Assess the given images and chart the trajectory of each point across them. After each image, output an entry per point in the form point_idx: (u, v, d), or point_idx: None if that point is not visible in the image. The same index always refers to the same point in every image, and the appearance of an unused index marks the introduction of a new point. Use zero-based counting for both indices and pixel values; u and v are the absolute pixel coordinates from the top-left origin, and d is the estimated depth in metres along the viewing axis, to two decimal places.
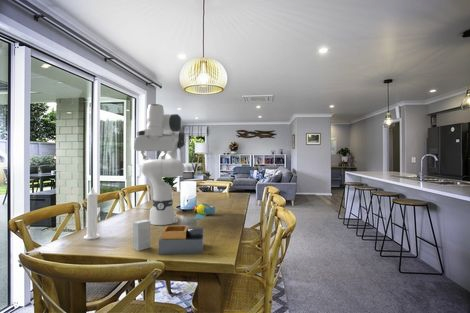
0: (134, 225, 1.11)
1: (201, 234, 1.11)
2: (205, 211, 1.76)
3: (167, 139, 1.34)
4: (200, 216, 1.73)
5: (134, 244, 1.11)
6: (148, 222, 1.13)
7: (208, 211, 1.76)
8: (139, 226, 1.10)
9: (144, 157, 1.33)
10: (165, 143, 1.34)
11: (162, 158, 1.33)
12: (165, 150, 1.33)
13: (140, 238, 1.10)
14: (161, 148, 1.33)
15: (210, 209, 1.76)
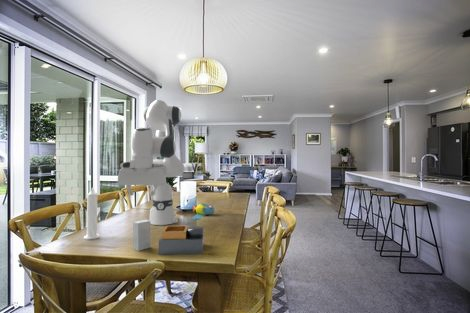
0: (134, 225, 1.11)
1: (201, 234, 1.11)
2: (204, 211, 1.76)
3: (158, 171, 1.12)
4: (199, 216, 1.73)
5: (134, 244, 1.11)
6: (148, 222, 1.13)
7: (207, 211, 1.76)
8: (139, 226, 1.10)
9: (130, 193, 1.11)
10: (155, 176, 1.12)
11: (152, 194, 1.12)
12: (155, 185, 1.12)
13: (140, 238, 1.10)
14: (150, 182, 1.11)
15: (209, 209, 1.76)
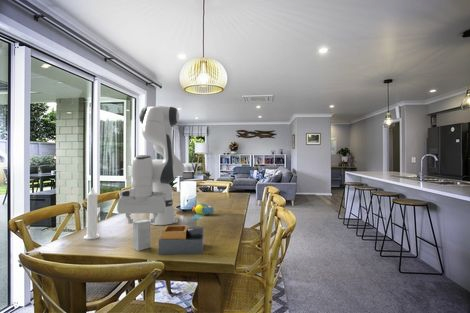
0: (134, 225, 1.11)
1: (201, 234, 1.11)
2: (203, 211, 1.76)
3: (157, 199, 1.11)
4: (198, 216, 1.73)
5: (134, 244, 1.11)
6: (148, 222, 1.13)
7: (206, 211, 1.76)
8: (139, 226, 1.10)
9: (130, 221, 1.11)
10: (155, 204, 1.11)
11: (151, 222, 1.12)
12: (155, 213, 1.11)
13: (140, 238, 1.10)
14: (149, 210, 1.11)
15: (208, 209, 1.76)
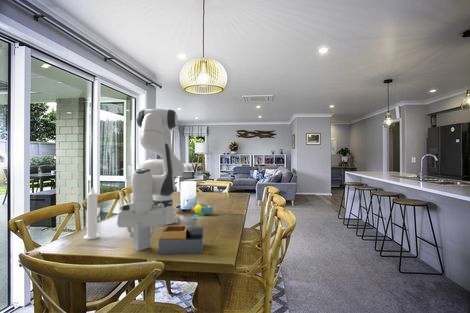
0: None
1: (201, 234, 1.11)
2: (203, 211, 1.76)
3: (157, 213, 1.11)
4: (197, 216, 1.73)
5: (134, 244, 1.11)
6: None
7: (206, 211, 1.77)
8: (139, 226, 1.10)
9: (131, 235, 1.11)
10: (155, 218, 1.11)
11: (150, 235, 1.12)
12: (155, 226, 1.12)
13: (140, 238, 1.10)
14: (149, 224, 1.11)
15: (207, 209, 1.77)
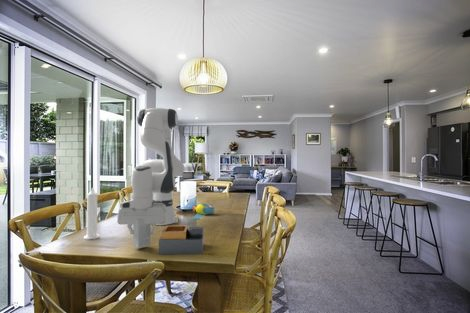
0: None
1: (201, 234, 1.11)
2: (204, 211, 1.77)
3: (157, 211, 1.12)
4: (199, 216, 1.74)
5: (134, 241, 1.11)
6: None
7: (207, 211, 1.77)
8: (139, 223, 1.10)
9: (131, 232, 1.12)
10: (155, 215, 1.12)
11: (150, 233, 1.12)
12: (155, 224, 1.12)
13: (140, 235, 1.10)
14: (150, 221, 1.11)
15: (209, 209, 1.77)
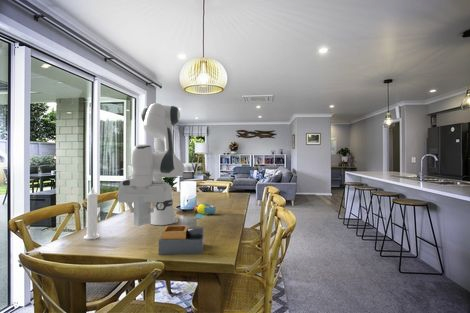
0: None
1: (201, 234, 1.11)
2: (206, 211, 1.78)
3: (157, 189, 1.12)
4: (201, 216, 1.74)
5: (134, 219, 1.11)
6: None
7: (208, 211, 1.78)
8: (139, 201, 1.10)
9: (132, 210, 1.12)
10: (155, 194, 1.12)
11: (151, 211, 1.12)
12: (155, 202, 1.12)
13: (140, 213, 1.10)
14: (150, 199, 1.11)
15: (210, 209, 1.78)
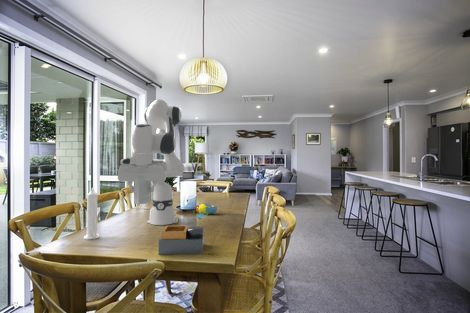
0: None
1: (201, 234, 1.11)
2: (207, 211, 1.78)
3: (158, 168, 1.12)
4: (202, 216, 1.75)
5: (134, 198, 1.11)
6: None
7: (210, 211, 1.78)
8: (139, 180, 1.10)
9: (132, 189, 1.12)
10: (155, 173, 1.12)
11: (151, 190, 1.12)
12: (155, 181, 1.12)
13: (140, 191, 1.10)
14: (150, 178, 1.11)
15: (212, 209, 1.79)
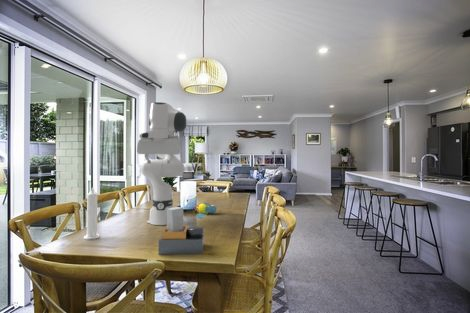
0: (168, 212, 1.10)
1: (201, 234, 1.11)
2: (207, 210, 1.80)
3: (173, 142, 1.22)
4: (202, 215, 1.76)
5: None
6: (181, 209, 1.12)
7: (209, 210, 1.80)
8: (173, 213, 1.09)
9: (148, 161, 1.22)
10: (171, 146, 1.22)
11: (168, 162, 1.23)
12: (171, 154, 1.22)
13: (174, 224, 1.09)
14: (166, 151, 1.22)
15: (211, 208, 1.80)
